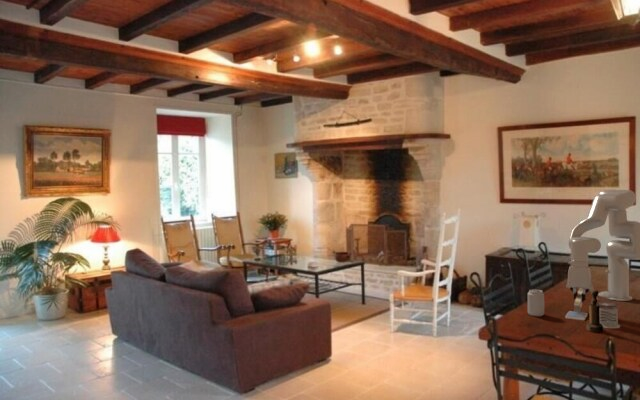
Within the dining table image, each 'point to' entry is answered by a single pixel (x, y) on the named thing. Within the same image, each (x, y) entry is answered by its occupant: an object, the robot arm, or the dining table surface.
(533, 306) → the can
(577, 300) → the cream wooden plank
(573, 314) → the tile
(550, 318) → the dining table surface
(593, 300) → the pepper mill
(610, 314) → the french press
